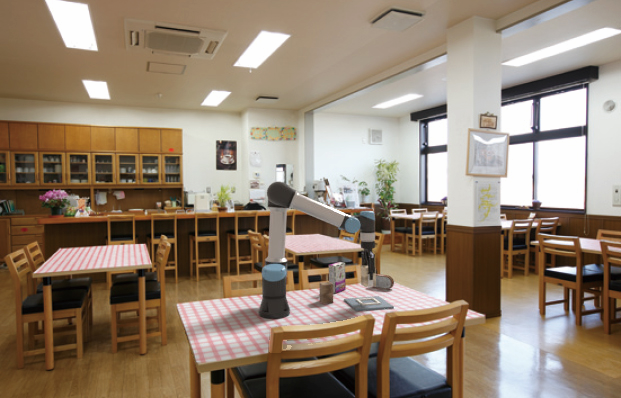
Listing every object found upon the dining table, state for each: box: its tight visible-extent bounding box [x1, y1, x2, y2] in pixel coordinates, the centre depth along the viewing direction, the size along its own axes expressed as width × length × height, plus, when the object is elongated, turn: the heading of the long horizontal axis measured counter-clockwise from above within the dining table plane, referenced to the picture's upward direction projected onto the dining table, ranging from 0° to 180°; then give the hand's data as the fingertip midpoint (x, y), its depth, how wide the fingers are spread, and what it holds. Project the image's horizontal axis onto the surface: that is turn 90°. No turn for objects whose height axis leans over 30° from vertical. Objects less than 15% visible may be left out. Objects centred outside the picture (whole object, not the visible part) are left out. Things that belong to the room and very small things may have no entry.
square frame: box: [356, 298, 381, 306], centre depth 213 cm, size 10×10×1 cm
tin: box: [372, 273, 395, 290], centre depth 247 cm, size 15×3×8 cm, turn 58°
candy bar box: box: [328, 261, 347, 294], centre depth 241 cm, size 11×5×16 cm, turn 143°
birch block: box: [360, 264, 377, 288], centre depth 213 cm, size 6×6×10 cm
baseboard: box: [343, 295, 395, 312], centre depth 213 cm, size 20×20×1 cm
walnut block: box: [319, 281, 334, 305], centre depth 219 cm, size 6×6×10 cm
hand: (368, 284), depth 213 cm, fingers closed on birch block, 6 cm apart
